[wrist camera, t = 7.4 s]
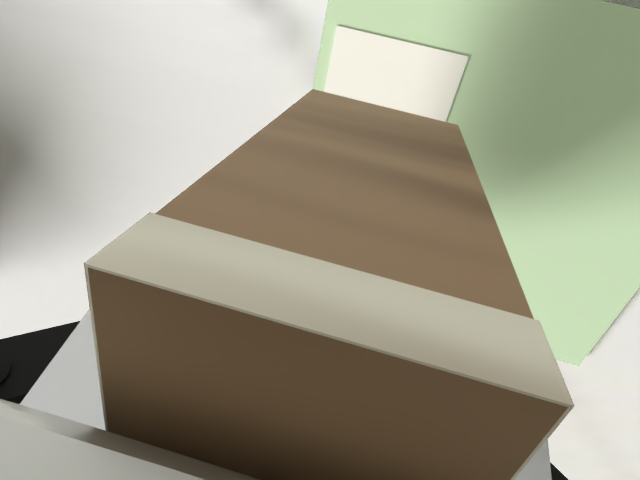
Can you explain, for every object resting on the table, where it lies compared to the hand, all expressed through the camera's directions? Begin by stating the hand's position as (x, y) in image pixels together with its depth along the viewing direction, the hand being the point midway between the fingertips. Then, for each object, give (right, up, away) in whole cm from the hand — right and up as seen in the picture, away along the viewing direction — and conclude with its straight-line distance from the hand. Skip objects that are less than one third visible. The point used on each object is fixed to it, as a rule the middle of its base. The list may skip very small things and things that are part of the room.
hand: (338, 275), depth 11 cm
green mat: (+7, +3, +7) cm, 10 cm away
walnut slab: (0, +1, +2) cm, 2 cm away
